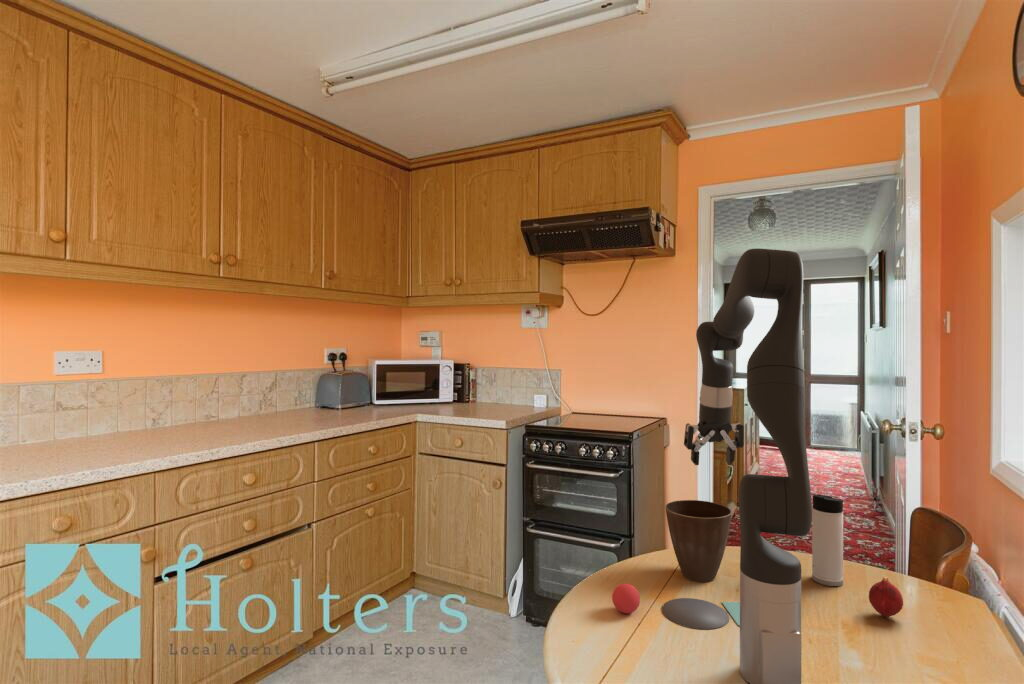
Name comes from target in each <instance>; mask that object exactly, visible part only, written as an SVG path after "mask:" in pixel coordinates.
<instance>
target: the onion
mask: <svg viewBox="0 0 1024 684" xmlns="http://www.w3.org/2000/svg"><path fill="white" fill-rule="evenodd" d="M868 600H869V603H870V604H871V607H872V608H873V609H874V610H875V612H877V613H878V614H880V615H881V616H882V617H883V618H889V617H893V616H895V615H898V613H900V612H901V610H902V609H903V606H904V598H903V596H902V593H901V591H900V590H899V589H898V588H897V587H896V586H895V585H894V584H892V583H891V582H890V579H889V578H888V577H887V576H884V577H882V580H881V581H878V582H876V583H874V584H873V585H872V586H871V587H870V590H869V591H868Z"/></svg>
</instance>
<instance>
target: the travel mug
mask: <svg viewBox="0 0 1024 684" xmlns="http://www.w3.org/2000/svg"><path fill="white" fill-rule="evenodd" d="M811 528H812V532H811V535H812V538H811V539H812V540H811V541H812V543H811V544H812V545H811V548H812V550H811V552H812V553H811V555H812V557H811V558H812V559H811V560H812V561H811V562H812V563H811V565H812V566H811V567H812V569H811V571H812V573H811V576H812V577H811V578H812V580H813V581H814V582H815V581H816V582H815V583H817V582H818V583H817V584H819V583H820V584H819V585H822V584H823V585H822V586H825V585H827V586H826V587H831V586H838V587H842V585H844V500H843V499H841V498H834V497H833V496H830V495H825V494H816V493H814V494H812V524H811Z"/></svg>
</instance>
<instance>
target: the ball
mask: <svg viewBox="0 0 1024 684" xmlns="http://www.w3.org/2000/svg"><path fill="white" fill-rule="evenodd" d="M611 598H612V599H611V600H612V604H613V606H614V607H615V609H616V610H617V611H619V612H620V613H623V614H632V613H634V612H635V611H637V610H638V608H639V606H640V603H641V597H640V593H639V591H638V590H637V588H636V587H635V586H633V585H632V584H629V583H620V584H618V585H617V586H615V588H614V590H613V591H612V595H611Z"/></svg>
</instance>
